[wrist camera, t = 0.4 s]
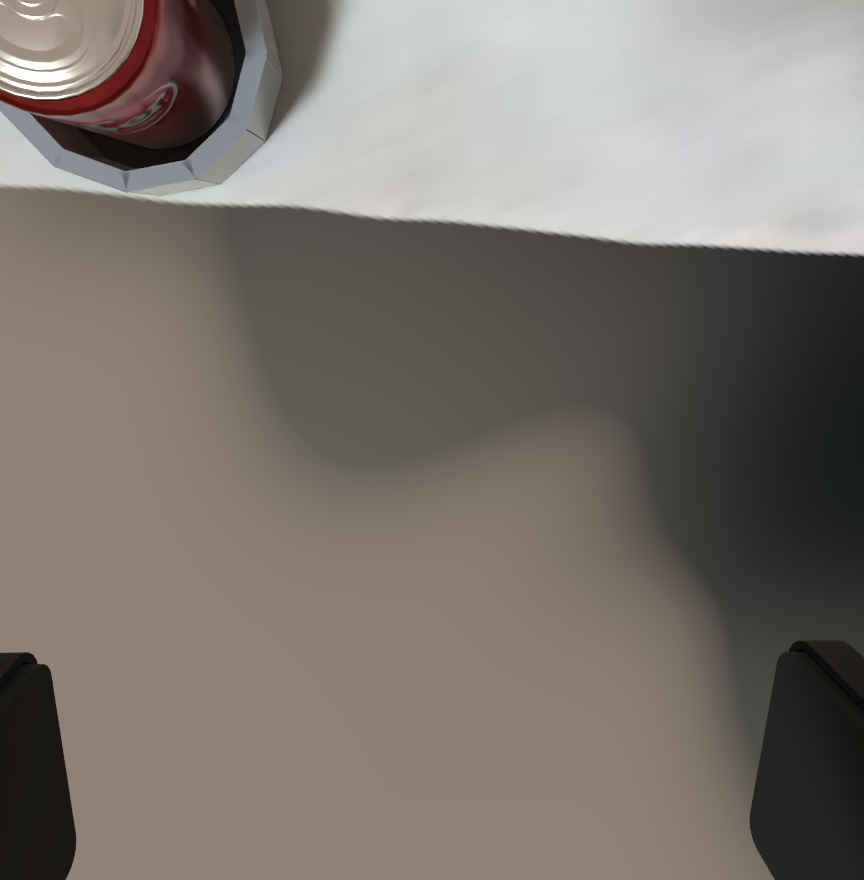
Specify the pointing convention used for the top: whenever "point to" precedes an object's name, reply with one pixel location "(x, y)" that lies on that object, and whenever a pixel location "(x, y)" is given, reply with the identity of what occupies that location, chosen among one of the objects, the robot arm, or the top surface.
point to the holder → (211, 157)
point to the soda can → (118, 66)
